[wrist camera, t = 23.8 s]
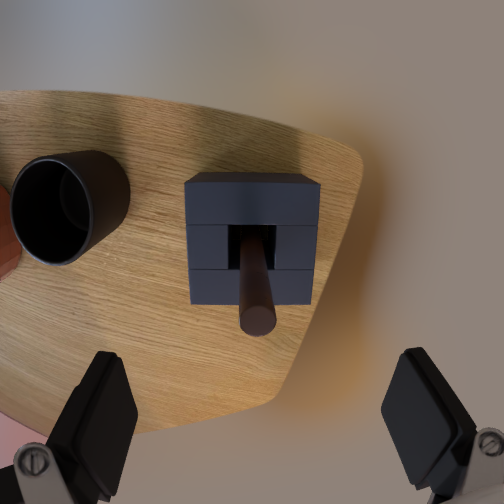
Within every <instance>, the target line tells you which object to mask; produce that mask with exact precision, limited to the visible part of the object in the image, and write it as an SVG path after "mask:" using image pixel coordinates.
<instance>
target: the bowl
mask: <svg viewBox="0 0 504 504" xmlns="http://www.w3.org/2000/svg"><path fill="white" fill-rule="evenodd" d="M20 254H21V243H20V242H19V240H18V238H17V236H16V234H15V232H14V229H13V226H12V222H11V218H10V196H9V195H8V193H7V191H6V190H5V188H4V187H3V186H2V185H0V282H1V281H3V280H4V279H6V278H7V277H8V276H10V275H11V274H12V272H13V271H14V270H15V268H16V267H17V265H18V261H19V258H20Z"/></svg>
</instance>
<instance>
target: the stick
mask: <svg viewBox="0 0 504 504" xmlns="http://www.w3.org/2000/svg"><path fill="white" fill-rule="evenodd" d="M276 321H277V319H276V313H275V308H274V302H273V297H272V291H271V286H270V281H269V275H268V270H267V265H266V259H265V254H264V249H263V243H262V238H261V233H260V228H259V225H243V224H241V242H240V286H239V325H240V327H241V329H242V330H243V331H244V332H245V333H246V334H248V335H250V336H255V337H259V336H264V335H267V334H268V333H270V332H271V331H272V330H273V329H274V327H275V325H276Z"/></svg>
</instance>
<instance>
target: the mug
mask: <svg viewBox="0 0 504 504" xmlns="http://www.w3.org/2000/svg"><path fill="white" fill-rule="evenodd" d="M129 203H130V187H129V182H128V179H127V176H126V174H125V172H124V170H123V168H122V167H121V165H120V164H119V163H118V162H117V161H116V160H115V159H114V158H113V157H111V156H110V155H108V154H106V153H104V152H101V151H96V150H87V151H78V152H69V153H61V154H54V155H46V156H41V157H38V158H35V159H33V160H32V161H30V162H29V163H28V164H26V165H25V166H24V167H23V168H22V170H21V171H20V172H19V174H18V175H17V177H16V179H15V181H14V184H13V186H12V190H11V194H10V218H11V222H12V226H13V229H14V232H15V234H16V236H17V238H18V240H19V242H20V243H21V245H22V246H23V248H24V249H25V250H26V251H27V252H28V253H29V254H30V255H31V256H32V257H33V258H35V259H36V260H38V261H40V262H42V263H44V264H47V265H52V266H61V265H66V264H69V263H72V262H73V261H75V260H77V259H78V258H79V257H80V256H82V255H83V254H84V253H85V252H87V251H88V250H89V249H91V248H92V247H93V246H94V245H96V244H97V243H98V242H100V241H101V240H102V239H104V238H105V237H106V236H108V235H109V234H110V233H111V232H113V231H114V230H115V229H116V228H118V226H119V225H120V224H121V223H122V221H123V220H124V218H125V216H126V214H127V212H128V208H129Z"/></svg>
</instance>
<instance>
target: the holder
mask: <svg viewBox="0 0 504 504" xmlns="http://www.w3.org/2000/svg"><path fill="white" fill-rule="evenodd" d="M184 184H185V217H186V239H187V258H188V268H189V269H188V275H189V289H190V302H191V304H197V305H239V286H240V242H241V239H232V224H243V225H268V231H267V240H262V243H263V249H264V254H265V259H266V265H267V270H268V275H269V281H270V286H271V291H272V297H273V302H274V305H310V304H311V296H312V286H313V276H314V266H315V255H316V244H317V231H318V226H317V225H318V218H319V203H320V186H321V185H320V184H319V183H317V182H315V181H314V180H312V179H310V178H308V177H306V176H304V175H302V174H294V173H257V172H201V173H198V174H197V175H195V176H194V177H192V178H191V179H189V180H188V181H186V182H185V183H184Z"/></svg>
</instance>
